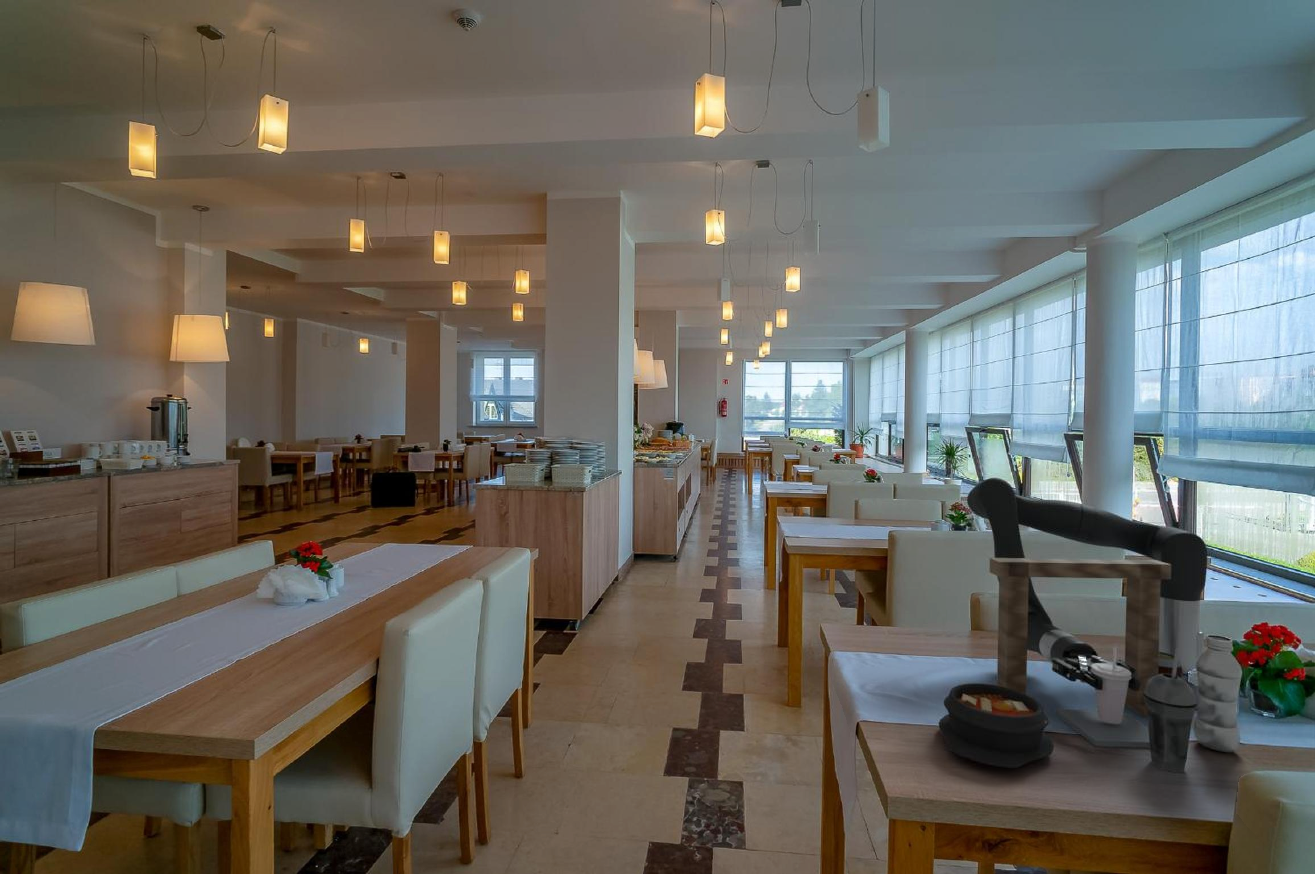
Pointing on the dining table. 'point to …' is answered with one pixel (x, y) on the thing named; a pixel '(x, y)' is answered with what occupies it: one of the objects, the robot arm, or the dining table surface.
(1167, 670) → the mate gourd
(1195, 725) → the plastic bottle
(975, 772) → the dining table surface
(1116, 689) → the smoothie
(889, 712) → the dining table surface
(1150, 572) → the archway
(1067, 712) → the mat
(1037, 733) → the casserole
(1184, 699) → the beverage cup
